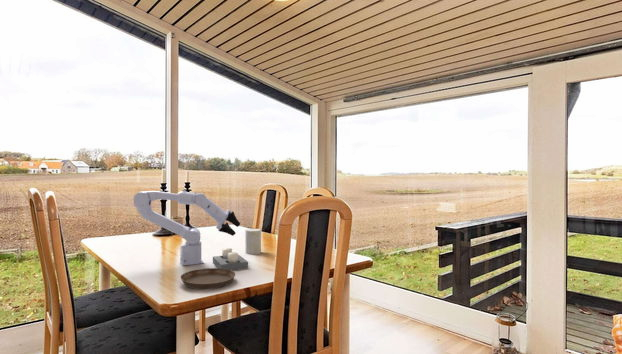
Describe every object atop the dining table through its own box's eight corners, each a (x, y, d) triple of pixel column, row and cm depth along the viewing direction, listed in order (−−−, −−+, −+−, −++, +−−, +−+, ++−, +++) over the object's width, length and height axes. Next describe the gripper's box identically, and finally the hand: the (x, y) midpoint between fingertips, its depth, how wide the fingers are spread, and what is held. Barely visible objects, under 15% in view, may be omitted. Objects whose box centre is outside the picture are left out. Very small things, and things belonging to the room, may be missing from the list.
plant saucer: (244, 278, 152) (244, 269, 152) (218, 294, 132) (218, 285, 132) (200, 273, 158) (200, 266, 158) (168, 288, 138) (168, 279, 138)
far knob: (223, 259, 172) (223, 250, 171) (221, 257, 175) (221, 248, 175) (233, 258, 174) (233, 249, 173) (230, 256, 177) (230, 247, 177)
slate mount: (221, 271, 160) (221, 264, 160) (212, 263, 175) (212, 256, 175) (248, 268, 166) (248, 261, 165) (237, 260, 180) (237, 254, 180)
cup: (253, 254, 191) (253, 231, 191) (242, 252, 196) (242, 230, 196) (264, 252, 198) (264, 229, 198) (253, 250, 203) (253, 228, 202)
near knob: (229, 264, 163) (229, 255, 163) (226, 261, 167) (226, 253, 166) (239, 263, 165) (239, 254, 165) (236, 260, 169) (236, 252, 168)
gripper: (214, 215, 170) (237, 234, 173) (225, 199, 183) (246, 217, 186) (205, 223, 173) (228, 242, 176) (216, 207, 185) (237, 225, 189)
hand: (236, 229), depth 181 cm, fingers open, 7 cm apart
